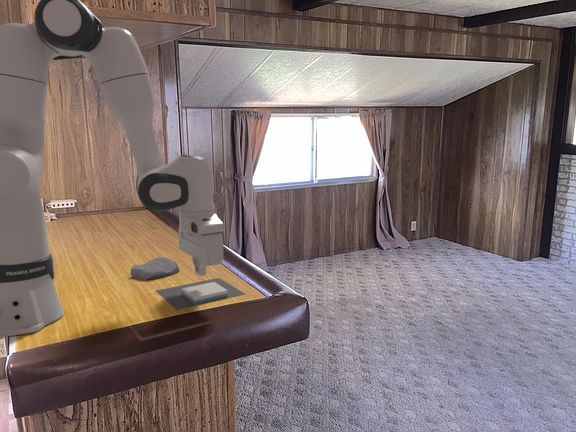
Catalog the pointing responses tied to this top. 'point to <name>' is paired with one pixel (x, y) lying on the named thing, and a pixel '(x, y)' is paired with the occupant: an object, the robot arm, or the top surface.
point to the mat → (175, 294)
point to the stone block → (155, 268)
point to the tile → (204, 292)
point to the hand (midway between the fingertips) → (200, 274)
